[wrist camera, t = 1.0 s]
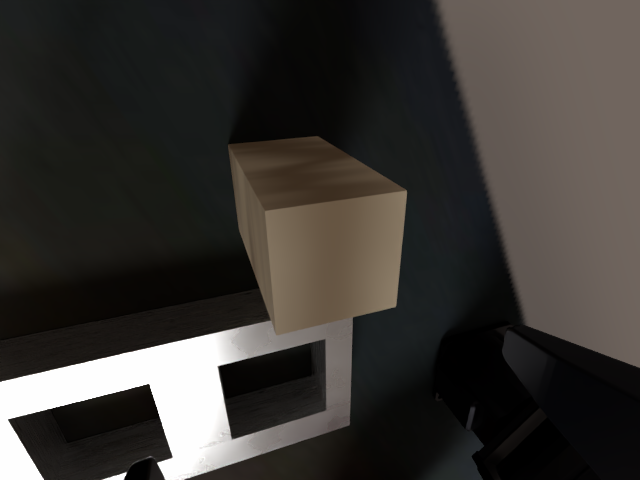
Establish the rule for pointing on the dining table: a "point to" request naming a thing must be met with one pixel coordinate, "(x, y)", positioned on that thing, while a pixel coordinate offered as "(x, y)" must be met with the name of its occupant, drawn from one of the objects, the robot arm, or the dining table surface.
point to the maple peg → (317, 230)
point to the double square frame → (167, 390)
